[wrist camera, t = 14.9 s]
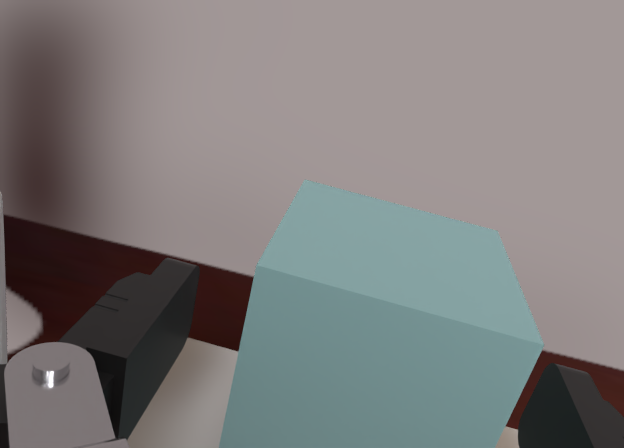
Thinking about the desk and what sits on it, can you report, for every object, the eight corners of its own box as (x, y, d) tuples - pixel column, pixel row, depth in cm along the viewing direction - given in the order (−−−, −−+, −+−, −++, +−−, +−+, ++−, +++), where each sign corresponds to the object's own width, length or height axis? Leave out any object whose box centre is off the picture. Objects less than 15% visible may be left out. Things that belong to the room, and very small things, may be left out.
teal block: (182, 618, 13) (256, 264, 9) (239, 461, 18) (304, 179, 14) (382, 682, 13) (543, 344, 9) (388, 506, 18) (497, 230, 14)
